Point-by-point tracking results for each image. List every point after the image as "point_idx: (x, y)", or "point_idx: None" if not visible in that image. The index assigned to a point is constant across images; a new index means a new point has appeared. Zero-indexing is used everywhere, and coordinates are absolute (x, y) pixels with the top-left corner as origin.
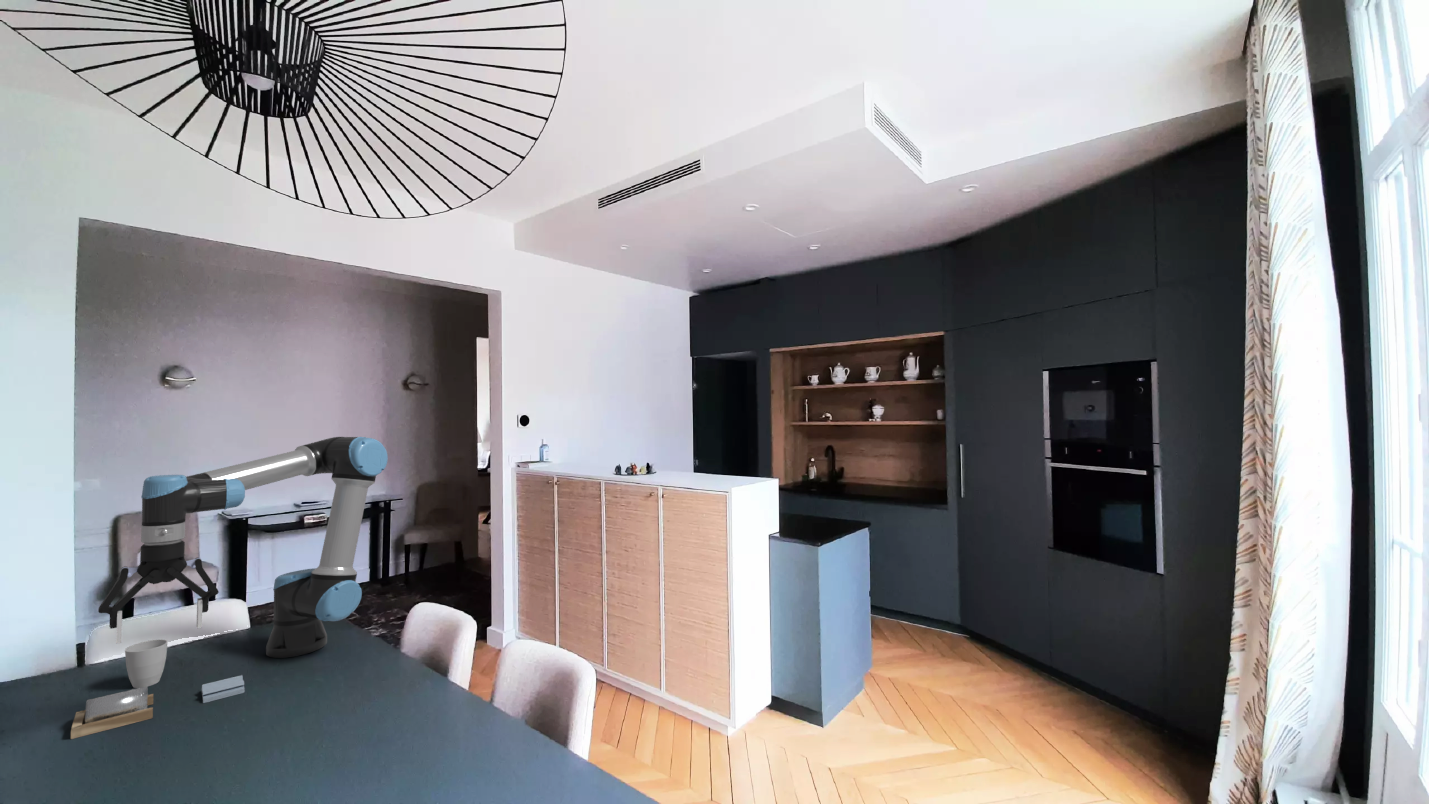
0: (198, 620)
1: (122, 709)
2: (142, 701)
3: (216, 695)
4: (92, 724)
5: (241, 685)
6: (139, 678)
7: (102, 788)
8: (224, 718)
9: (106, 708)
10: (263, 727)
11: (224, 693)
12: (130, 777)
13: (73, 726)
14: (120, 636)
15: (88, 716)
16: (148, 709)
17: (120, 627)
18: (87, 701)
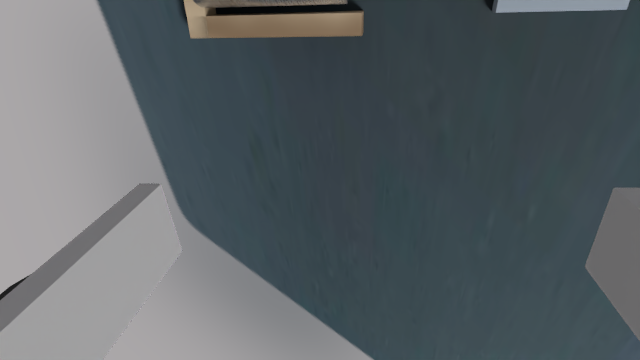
0: (626, 319)
1: (286, 5)
2: (333, 3)
3: (535, 8)
4: (231, 37)
5: None
6: None
7: (299, 296)
8: (502, 173)
9: (244, 3)
10: (544, 275)
11: (560, 9)
12: (331, 292)
13: (189, 12)
14: (157, 281)
15: (209, 7)
16: (351, 26)
17: (116, 330)
18: None
